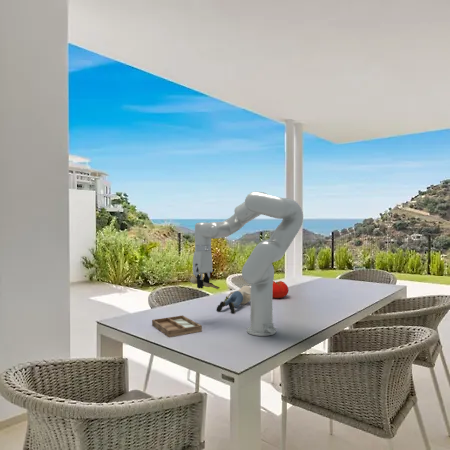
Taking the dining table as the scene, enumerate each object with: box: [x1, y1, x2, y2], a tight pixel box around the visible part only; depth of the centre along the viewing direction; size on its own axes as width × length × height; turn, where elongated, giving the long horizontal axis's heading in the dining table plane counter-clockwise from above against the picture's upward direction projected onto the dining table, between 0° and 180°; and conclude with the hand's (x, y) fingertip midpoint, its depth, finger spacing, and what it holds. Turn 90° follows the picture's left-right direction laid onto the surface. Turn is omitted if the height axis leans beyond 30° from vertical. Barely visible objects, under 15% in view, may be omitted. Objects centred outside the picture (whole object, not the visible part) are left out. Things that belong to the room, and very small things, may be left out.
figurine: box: [189, 275, 221, 290], centre depth 178 cm, size 4×4×15 cm
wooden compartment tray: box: [151, 315, 203, 338], centre depth 170 cm, size 21×15×2 cm
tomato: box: [272, 280, 289, 299], centre depth 236 cm, size 14×16×10 cm
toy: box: [215, 285, 251, 315], centre depth 211 cm, size 23×10×30 cm
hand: (203, 286), depth 178 cm, fingers closed on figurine, 4 cm apart
